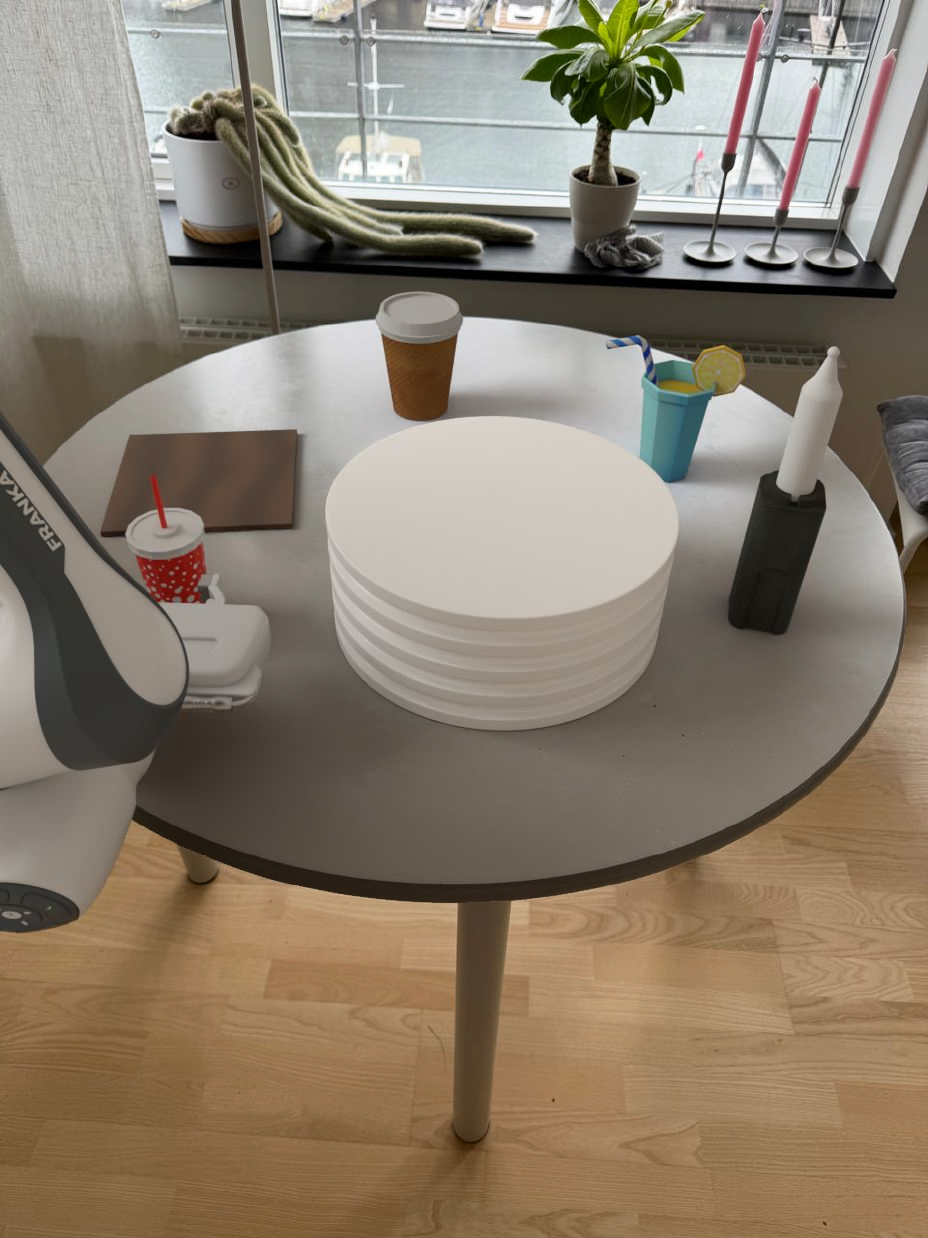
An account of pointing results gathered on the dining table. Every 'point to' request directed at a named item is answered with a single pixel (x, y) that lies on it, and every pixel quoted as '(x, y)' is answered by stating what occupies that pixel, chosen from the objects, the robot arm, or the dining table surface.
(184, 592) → the beverage cup
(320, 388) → the dining table surface
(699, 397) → the cup
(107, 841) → the robot arm
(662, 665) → the dining table surface
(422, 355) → the disposable coffee cup
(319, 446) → the dining table surface
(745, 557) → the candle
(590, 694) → the plate stack
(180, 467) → the placemat
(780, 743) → the dining table surface
